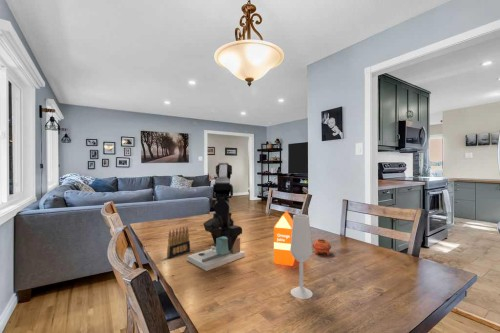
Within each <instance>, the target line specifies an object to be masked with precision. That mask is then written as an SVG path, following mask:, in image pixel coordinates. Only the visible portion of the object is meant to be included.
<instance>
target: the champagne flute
mask: <svg viewBox="0 0 500 333" xmlns="http://www.w3.org/2000/svg"><path fill="white" fill-rule="evenodd" d="M292 220H293V225H292V237H291V248H290V252H291V254H292V255H293V257H294V258H295V261H297V262H299V264H298V267H299V278H298V279H299V286H297V287H294V288H291V290H290V295H291V296H293V297H294V298H296V299H301V300H307V299H310V298H312V296H313V292H312V291H311V290H310V289H309V288H307V287H305V286H304V263H305V262H306V261H308V259H310V258H311V256H312V254H313V243H312V235H311V224H310V216H309V215H307V214H304V213H303V214H302V213H300V214H299V213H297V214H293V215H292Z"/></svg>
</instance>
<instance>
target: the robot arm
mask: <svg viewBox="0 0 500 333" xmlns="http://www.w3.org/2000/svg"><path fill="white" fill-rule="evenodd" d="M215 175H216V178H215V180H214V183H213V184H212V199H215V204H214V206H213V210H214V213H213V215H212V217H211V218H209V219H208V220H206V221H205V222H203V223H202V225H203V228H204V230H205V232H209V233H210V234H211V237H212V240H213V243H214V245H215V246H216V238H219V237H223V236H224V237H227V239H228V250H229V251H230V250H231V249H232V247H233V245H234V243H235V241H236V239H237V237H239V236H241V235H242V234H243V228H242V227H241V226H239V225H235V224H234V223H235V221H234V220H233V218H232V212H230V199H232V197H233V196H234V186H233V184H232V183H231V182H230V181H231V180H230V179H231V177H232V176H231V175H233V166H232V165H231V164H229V163H228V162H218V164H217V165H215Z"/></svg>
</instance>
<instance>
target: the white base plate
mask: <svg viewBox="0 0 500 333" xmlns="http://www.w3.org/2000/svg"><path fill="white" fill-rule="evenodd" d="M245 252H246V251H244V250H241V237H239V236H238V237H237V239H236V241H235V243H234V245H233V247H232V249H231V250H230V253H227V254H224V255H221V254H218V253H216V250H212V249H211V248H209V249H205V250H203V251H202V250H201V251H200V252H195V253H193V254H189V255H186V257H187V258H186V259H187V262H189V263H190V264H193V265H194V266H196V267H198V268H200V269H202V270H204V271H205V272H208V271H210V270H211V271H212V270H213V269H216V268H218V267H221V266H224V265H226V264H229V263H231V262H234V261H237V260H240V259H242V258H245V257H246V253H245Z"/></svg>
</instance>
